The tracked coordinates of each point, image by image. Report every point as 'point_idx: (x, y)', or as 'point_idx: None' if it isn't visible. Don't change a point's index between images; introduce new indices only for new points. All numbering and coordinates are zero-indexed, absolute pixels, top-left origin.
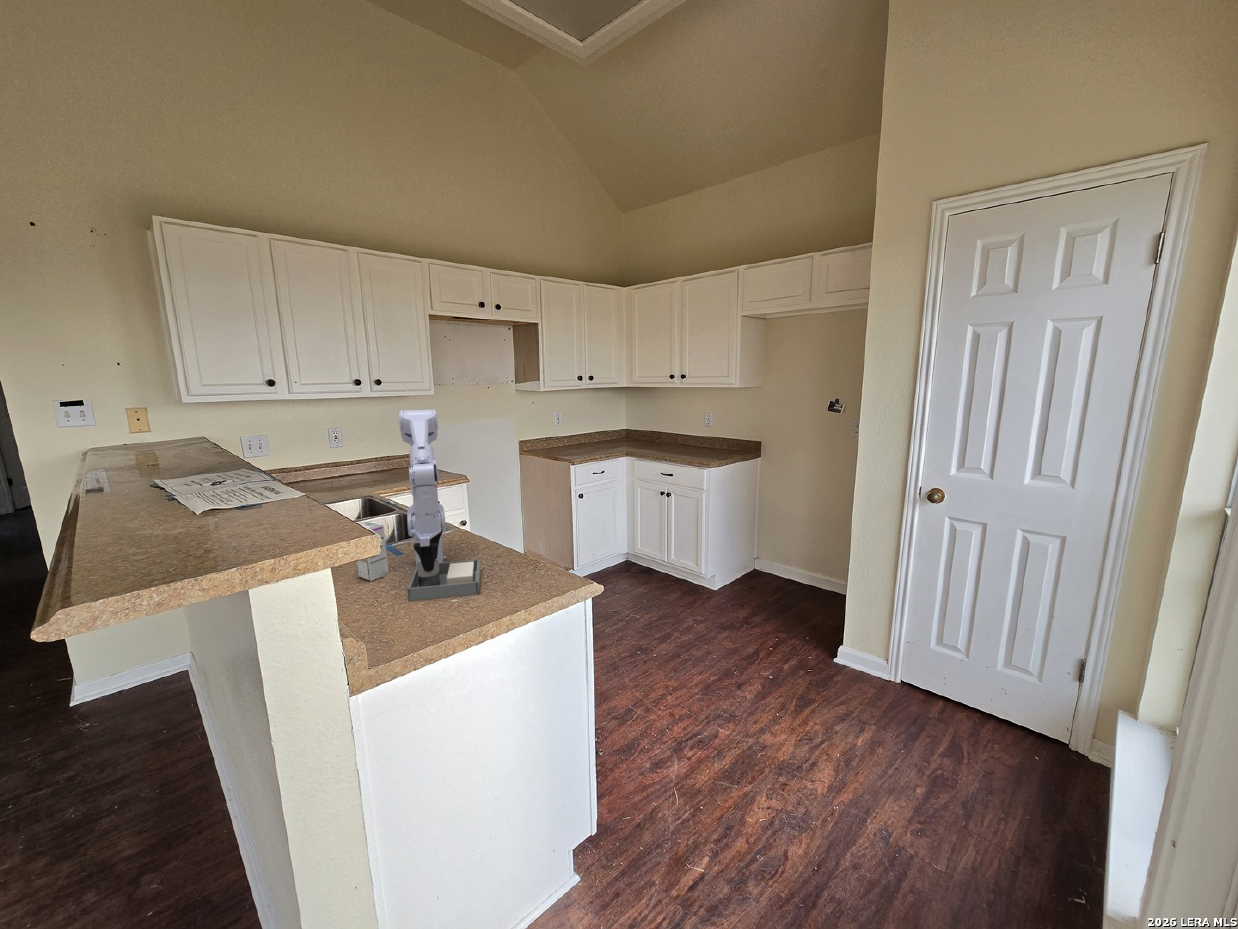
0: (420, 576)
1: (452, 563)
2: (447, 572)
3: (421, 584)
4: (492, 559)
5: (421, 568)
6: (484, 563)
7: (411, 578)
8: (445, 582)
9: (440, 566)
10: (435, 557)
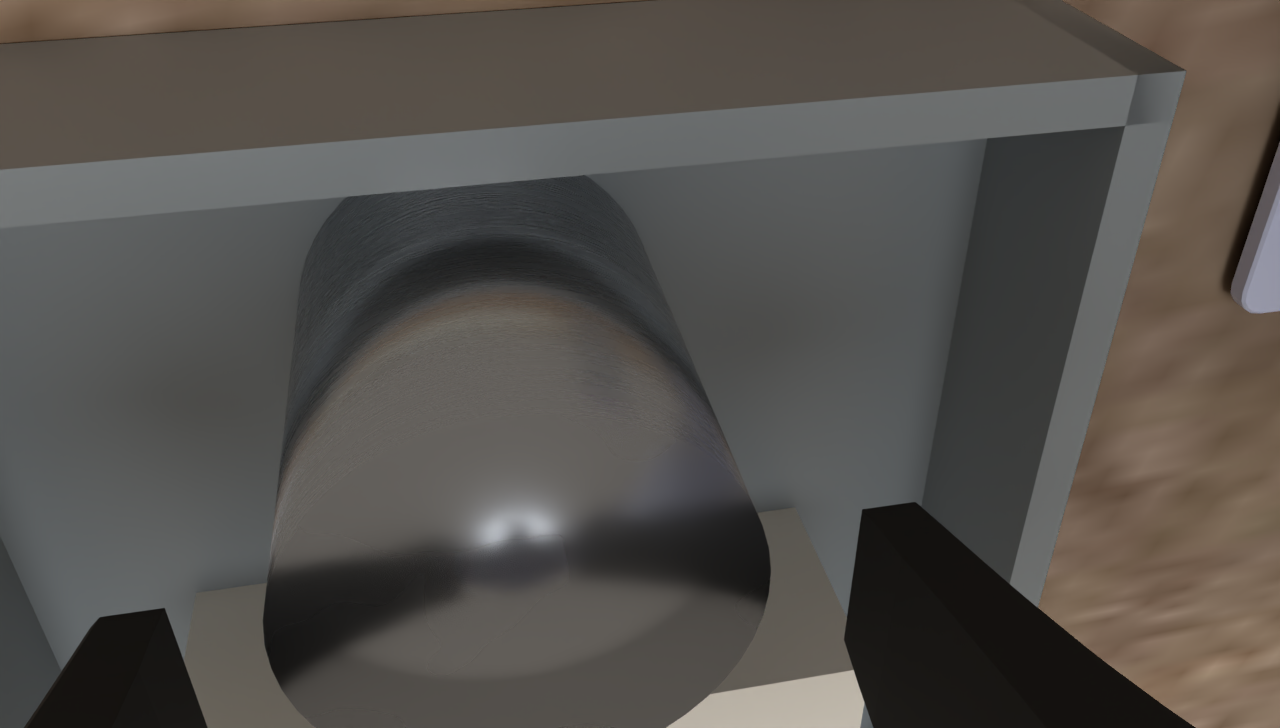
0: (324, 353)
1: (860, 697)
2: (940, 455)
3: (324, 269)
4: (1247, 721)
5: (288, 523)
6: (1174, 680)
7: (322, 145)
8: None
9: (1008, 445)
10: (864, 663)
